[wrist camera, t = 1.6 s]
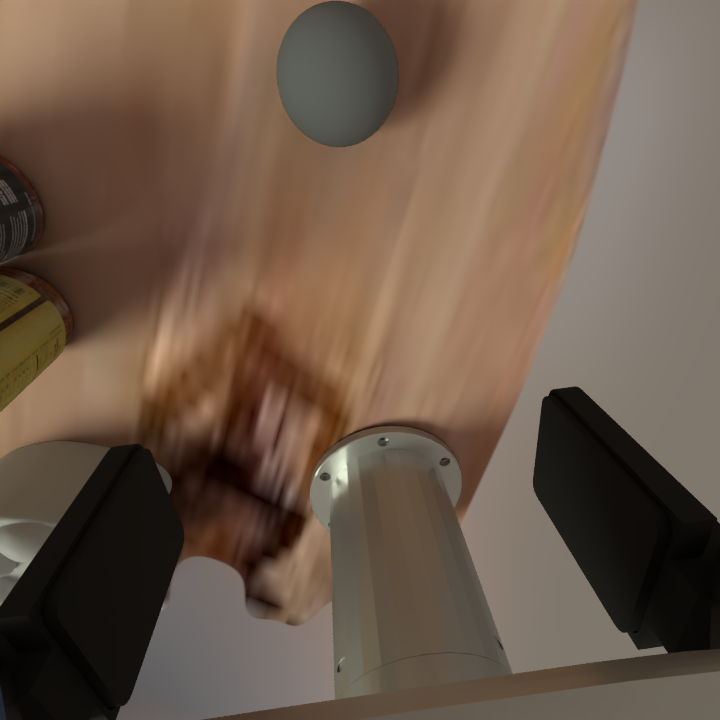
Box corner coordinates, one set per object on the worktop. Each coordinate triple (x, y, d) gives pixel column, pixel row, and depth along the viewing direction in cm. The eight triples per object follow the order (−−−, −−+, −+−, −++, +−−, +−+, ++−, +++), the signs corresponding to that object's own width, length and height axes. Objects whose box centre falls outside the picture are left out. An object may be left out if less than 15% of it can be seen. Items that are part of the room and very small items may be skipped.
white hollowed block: (162, 547, 37) (121, 653, 30) (-6, 525, 34) (-98, 636, 27) (176, 458, 33) (133, 556, 25) (-15, 424, 30) (-128, 523, 22)
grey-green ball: (391, 140, 24) (410, 142, 19) (290, 150, 23) (283, 154, 18) (386, 12, 21) (406, -24, 16) (272, 22, 21) (258, -12, 16)
